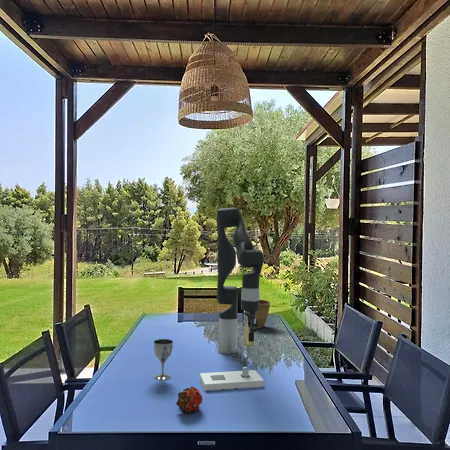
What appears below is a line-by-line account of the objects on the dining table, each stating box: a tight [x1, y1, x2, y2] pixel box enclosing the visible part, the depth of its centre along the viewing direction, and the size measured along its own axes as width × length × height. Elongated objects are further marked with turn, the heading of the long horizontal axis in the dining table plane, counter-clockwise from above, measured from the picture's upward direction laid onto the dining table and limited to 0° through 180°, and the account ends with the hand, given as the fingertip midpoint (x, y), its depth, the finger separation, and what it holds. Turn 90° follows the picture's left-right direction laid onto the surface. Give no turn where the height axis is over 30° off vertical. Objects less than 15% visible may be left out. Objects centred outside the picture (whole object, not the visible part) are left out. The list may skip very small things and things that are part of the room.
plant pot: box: [255, 299, 271, 328], centre depth 262 cm, size 15×15×16 cm
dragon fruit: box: [175, 386, 203, 413], centre depth 143 cm, size 8×8×12 cm
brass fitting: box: [243, 323, 256, 348], centre depth 170 cm, size 4×4×9 cm
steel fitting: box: [241, 366, 250, 378], centre depth 169 cm, size 3×3×6 cm
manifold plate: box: [199, 369, 265, 392], centre depth 168 cm, size 12×24×2 cm, turn 103°
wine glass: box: [153, 338, 174, 381], centre depth 173 cm, size 8×8×15 cm
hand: (249, 339), depth 170 cm, fingers closed on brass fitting, 4 cm apart
